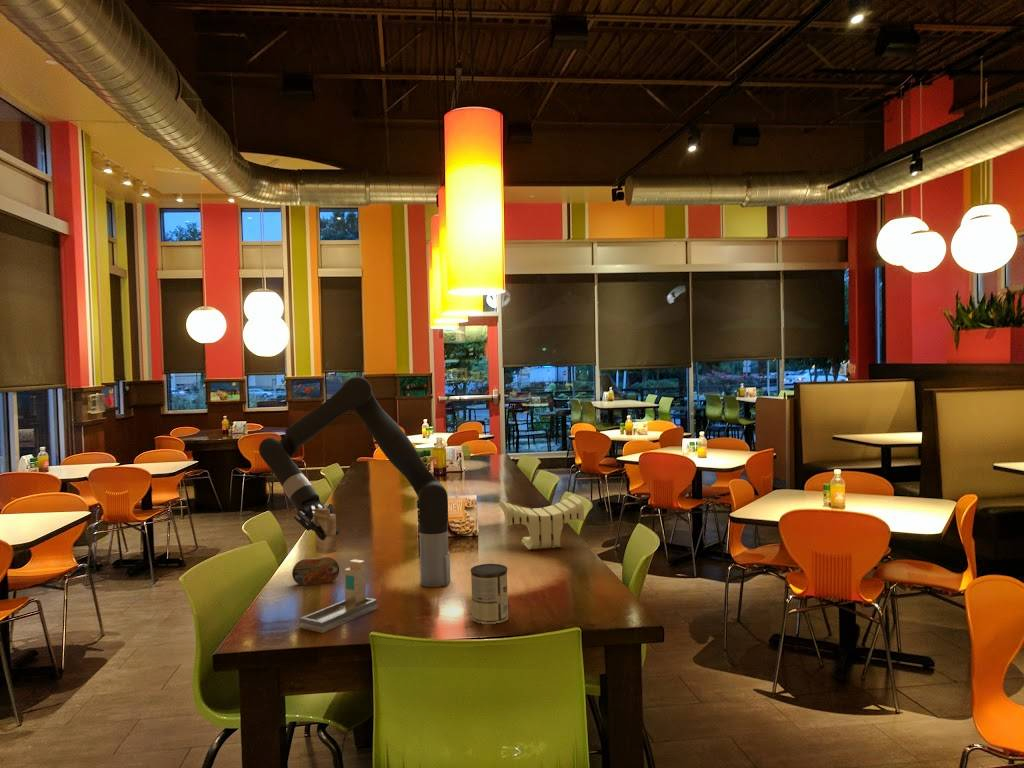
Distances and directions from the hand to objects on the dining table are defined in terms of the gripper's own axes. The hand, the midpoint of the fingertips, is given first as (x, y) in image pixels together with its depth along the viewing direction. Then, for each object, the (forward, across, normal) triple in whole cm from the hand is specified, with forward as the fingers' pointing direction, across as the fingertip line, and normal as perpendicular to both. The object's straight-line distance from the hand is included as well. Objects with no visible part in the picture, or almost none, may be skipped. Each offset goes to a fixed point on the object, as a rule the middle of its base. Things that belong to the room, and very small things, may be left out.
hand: (330, 536), depth 214 cm
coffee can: (+47, +17, -16) cm, 52 cm away
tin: (-2, +18, +34) cm, 38 cm away
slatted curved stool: (+28, +95, +4) cm, 99 cm away
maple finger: (+2, 0, +5) cm, 5 cm away
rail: (+20, -3, +11) cm, 23 cm away
